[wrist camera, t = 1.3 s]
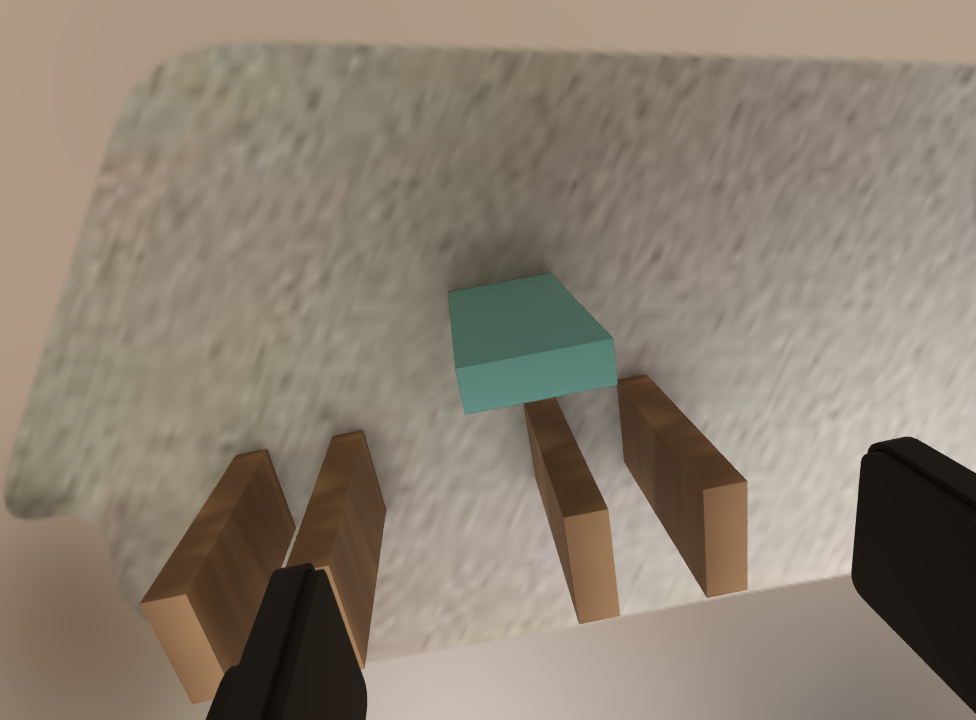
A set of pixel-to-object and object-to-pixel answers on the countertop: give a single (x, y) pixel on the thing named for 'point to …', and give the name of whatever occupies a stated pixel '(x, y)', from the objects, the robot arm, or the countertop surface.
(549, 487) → the domino
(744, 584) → the domino
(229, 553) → the domino
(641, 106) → the countertop surface
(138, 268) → the countertop surface
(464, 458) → the countertop surface
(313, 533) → the domino
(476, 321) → the domino
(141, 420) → the countertop surface
